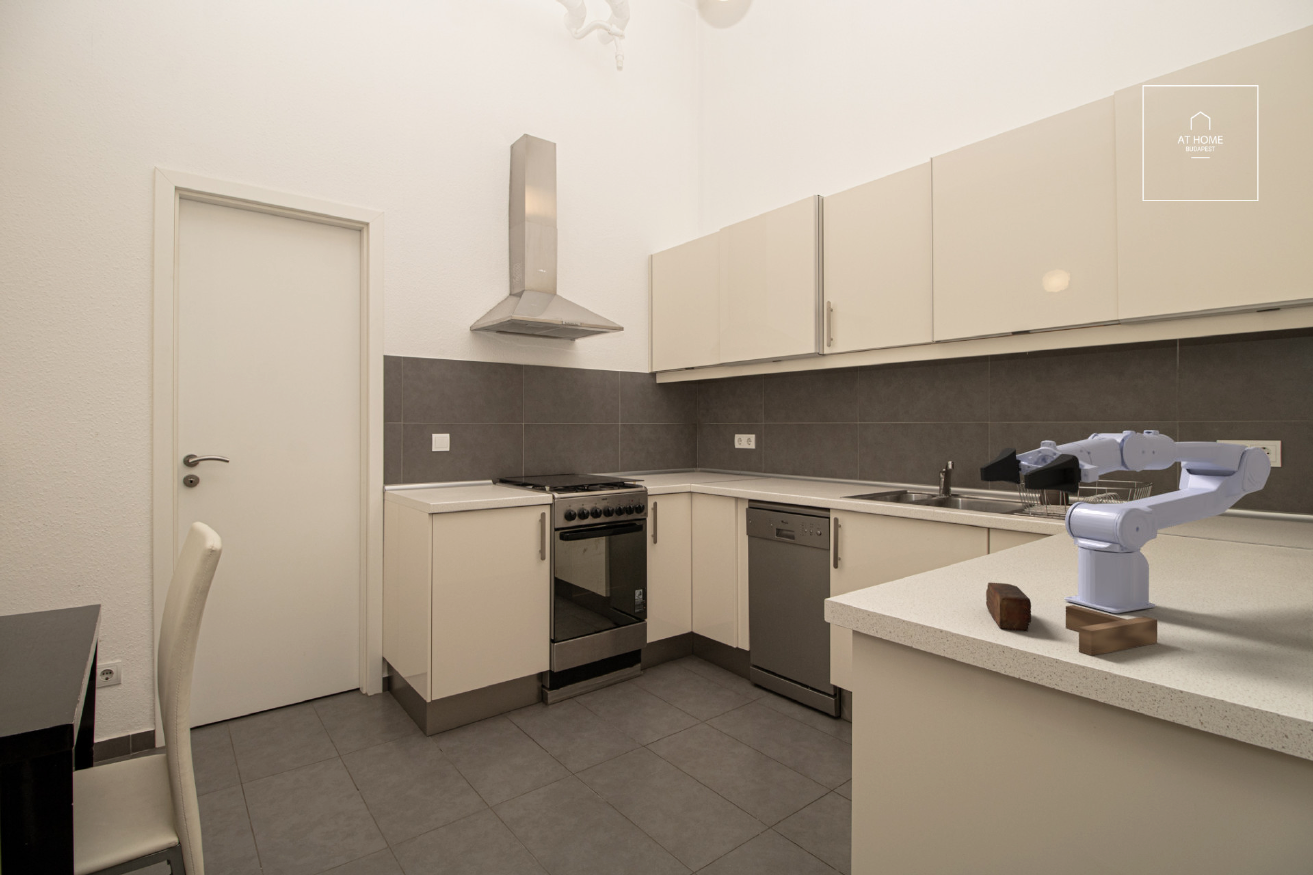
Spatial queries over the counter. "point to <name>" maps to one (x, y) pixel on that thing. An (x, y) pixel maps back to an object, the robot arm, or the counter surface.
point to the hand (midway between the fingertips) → (1003, 477)
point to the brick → (1008, 606)
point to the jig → (1109, 630)
